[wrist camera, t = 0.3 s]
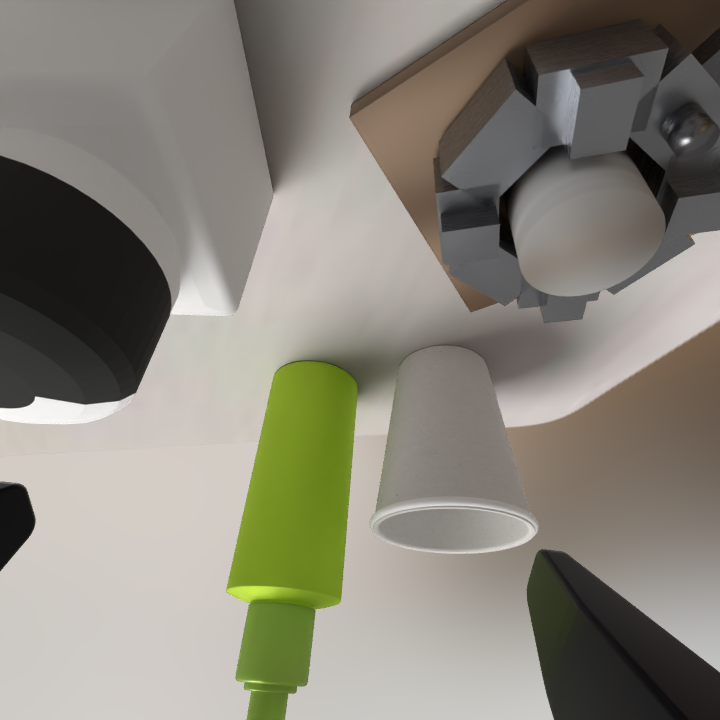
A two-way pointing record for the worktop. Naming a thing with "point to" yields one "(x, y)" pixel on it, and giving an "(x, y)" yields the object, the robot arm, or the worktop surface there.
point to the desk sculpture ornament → (581, 146)
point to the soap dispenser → (293, 529)
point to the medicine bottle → (118, 192)
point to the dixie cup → (449, 461)
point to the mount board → (465, 73)
